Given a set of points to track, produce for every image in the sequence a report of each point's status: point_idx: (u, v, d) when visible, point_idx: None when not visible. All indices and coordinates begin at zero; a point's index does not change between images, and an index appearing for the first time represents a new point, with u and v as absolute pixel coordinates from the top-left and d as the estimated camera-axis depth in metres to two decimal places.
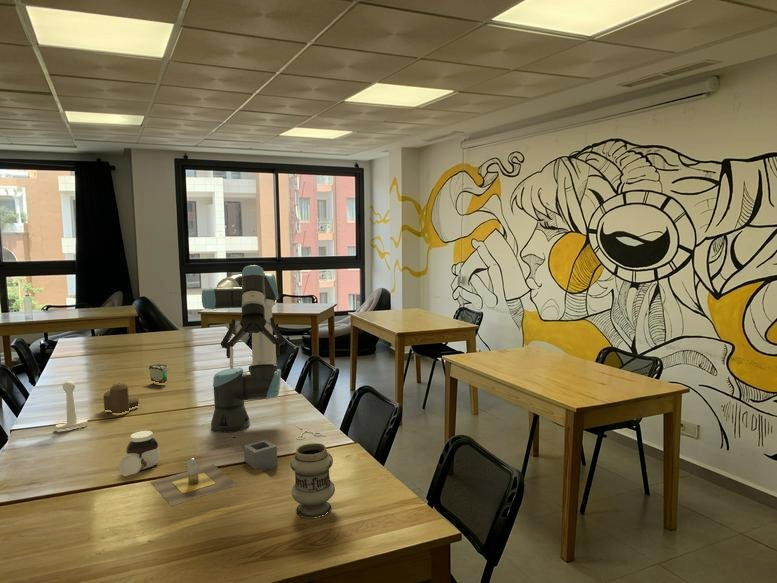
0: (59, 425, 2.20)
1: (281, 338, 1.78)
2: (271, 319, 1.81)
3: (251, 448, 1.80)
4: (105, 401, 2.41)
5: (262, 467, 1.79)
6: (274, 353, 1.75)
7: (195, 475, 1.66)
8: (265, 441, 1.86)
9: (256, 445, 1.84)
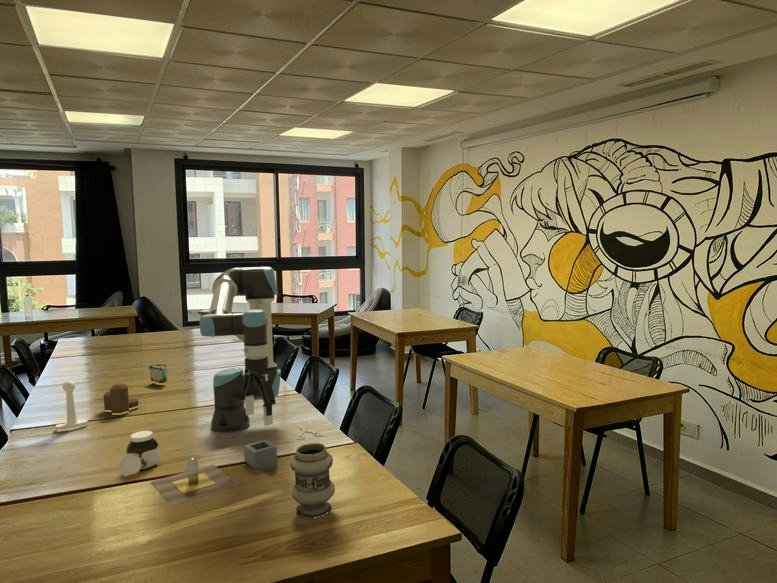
0: (59, 425, 2.20)
1: (267, 401, 1.72)
2: (261, 377, 1.74)
3: (251, 448, 1.80)
4: (105, 401, 2.41)
5: (262, 467, 1.79)
6: (264, 416, 1.75)
7: (195, 475, 1.66)
8: (265, 441, 1.86)
9: (256, 445, 1.84)
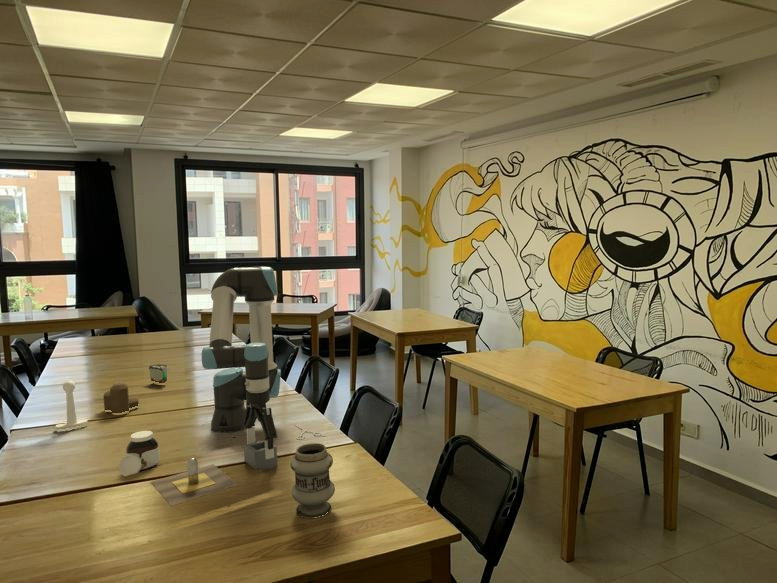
0: (59, 425, 2.20)
1: (268, 435, 1.73)
2: (263, 411, 1.75)
3: (251, 448, 1.80)
4: (105, 401, 2.41)
5: (262, 467, 1.79)
6: (265, 449, 1.76)
7: (195, 475, 1.66)
8: None
9: (256, 445, 1.84)
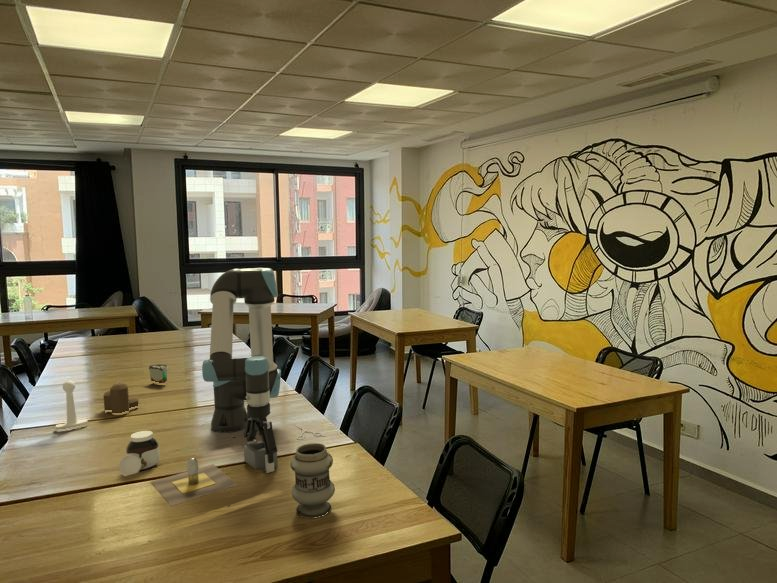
0: (59, 425, 2.20)
1: (269, 449, 1.74)
2: (263, 425, 1.76)
3: (251, 448, 1.80)
4: (105, 401, 2.41)
5: (262, 467, 1.79)
6: (265, 463, 1.77)
7: (195, 475, 1.66)
8: None
9: (256, 445, 1.84)
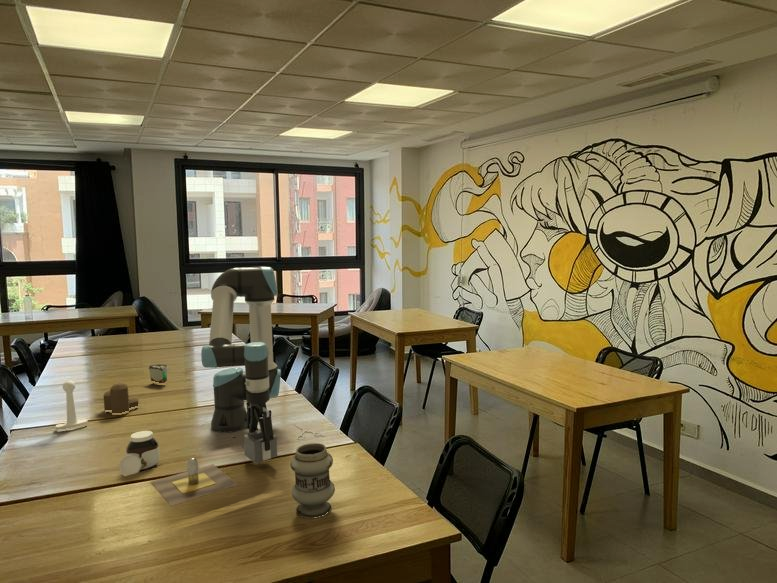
0: (59, 425, 2.20)
1: (265, 437, 1.76)
2: (263, 413, 1.76)
3: (251, 438, 1.80)
4: (105, 401, 2.41)
5: None
6: (262, 451, 1.78)
7: (195, 475, 1.66)
8: None
9: (256, 435, 1.84)
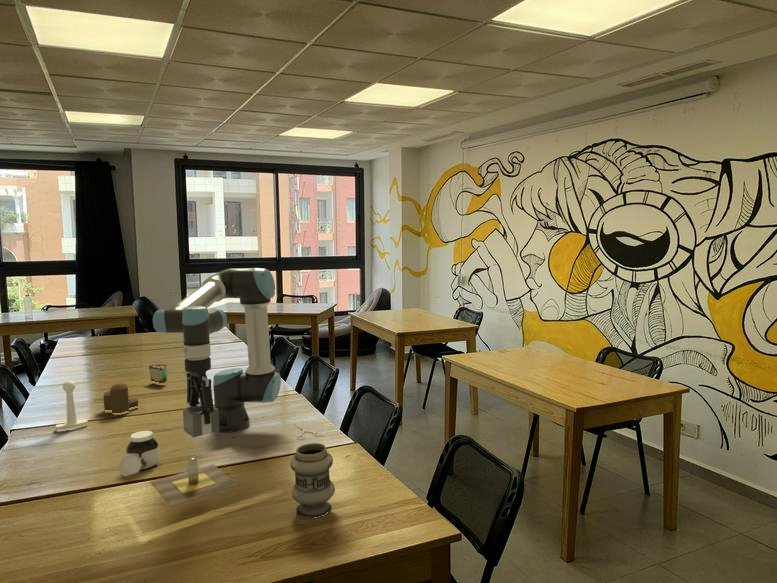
0: (59, 425, 2.20)
1: (204, 409, 1.61)
2: (202, 382, 1.61)
3: (190, 411, 1.65)
4: (105, 401, 2.41)
5: (201, 431, 1.64)
6: None
7: (195, 475, 1.66)
8: None
9: (196, 408, 1.69)
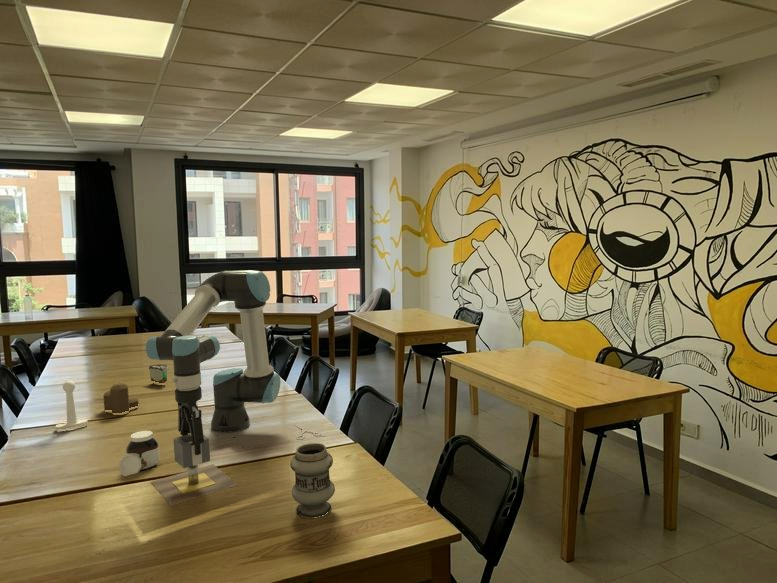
0: (59, 425, 2.20)
1: (194, 440, 1.60)
2: (192, 413, 1.60)
3: (180, 441, 1.64)
4: (105, 401, 2.41)
5: None
6: (192, 455, 1.62)
7: (195, 475, 1.66)
8: None
9: (187, 438, 1.68)
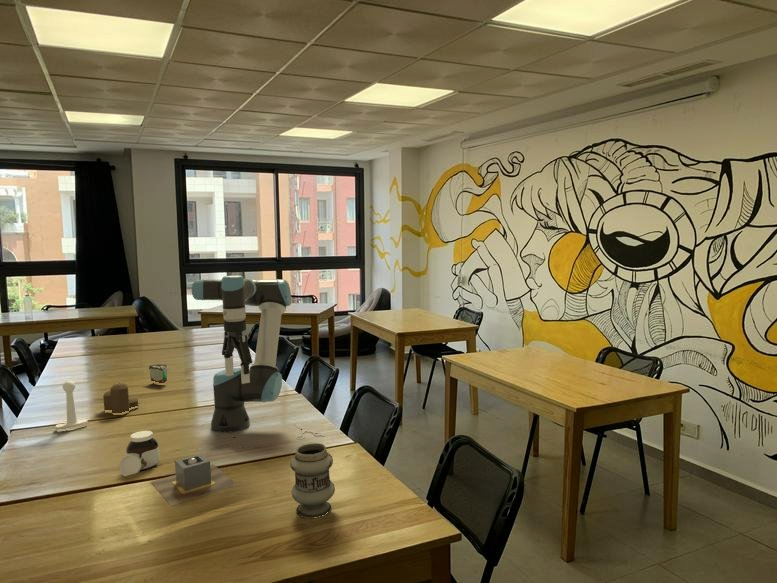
0: (59, 425, 2.20)
1: (244, 360, 1.84)
2: (239, 338, 1.85)
3: (182, 463, 1.65)
4: (105, 401, 2.41)
5: (193, 484, 1.63)
6: (241, 374, 1.86)
7: None
8: (199, 455, 1.71)
9: None
